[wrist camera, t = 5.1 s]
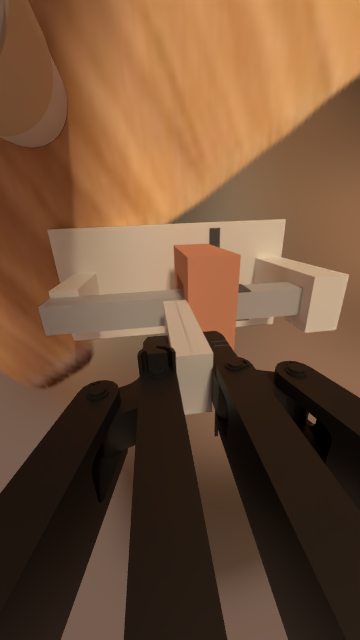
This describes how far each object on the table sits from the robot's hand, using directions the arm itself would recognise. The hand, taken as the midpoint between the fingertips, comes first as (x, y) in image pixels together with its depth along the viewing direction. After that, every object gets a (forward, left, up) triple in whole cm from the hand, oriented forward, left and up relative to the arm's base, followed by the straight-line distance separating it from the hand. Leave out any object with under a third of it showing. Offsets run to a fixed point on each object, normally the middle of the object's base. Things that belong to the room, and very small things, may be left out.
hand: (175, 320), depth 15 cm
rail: (0, +1, -10) cm, 10 cm away
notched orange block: (0, +2, -3) cm, 4 cm away
